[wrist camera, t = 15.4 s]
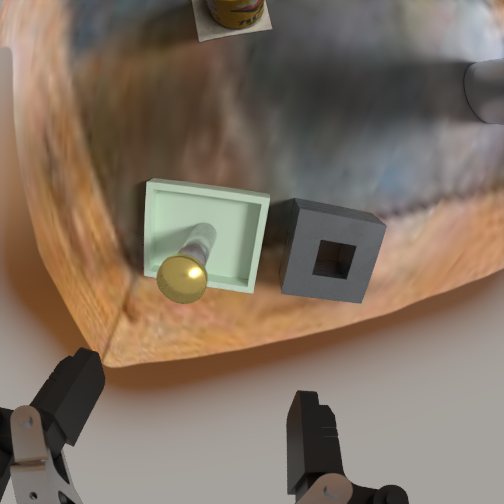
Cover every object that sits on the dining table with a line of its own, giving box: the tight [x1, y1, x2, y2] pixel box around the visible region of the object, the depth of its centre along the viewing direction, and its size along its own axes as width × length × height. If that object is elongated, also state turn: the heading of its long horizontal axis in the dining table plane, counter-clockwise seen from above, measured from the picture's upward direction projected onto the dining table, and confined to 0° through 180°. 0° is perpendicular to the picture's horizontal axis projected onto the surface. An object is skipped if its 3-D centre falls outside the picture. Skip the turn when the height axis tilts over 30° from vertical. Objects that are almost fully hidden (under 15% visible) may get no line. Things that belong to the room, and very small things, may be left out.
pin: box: [156, 223, 217, 304], centre depth 30 cm, size 4×4×12 cm
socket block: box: [279, 198, 387, 303], centre depth 34 cm, size 10×10×5 cm
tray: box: [144, 178, 270, 293], centre depth 35 cm, size 14×12×2 cm
